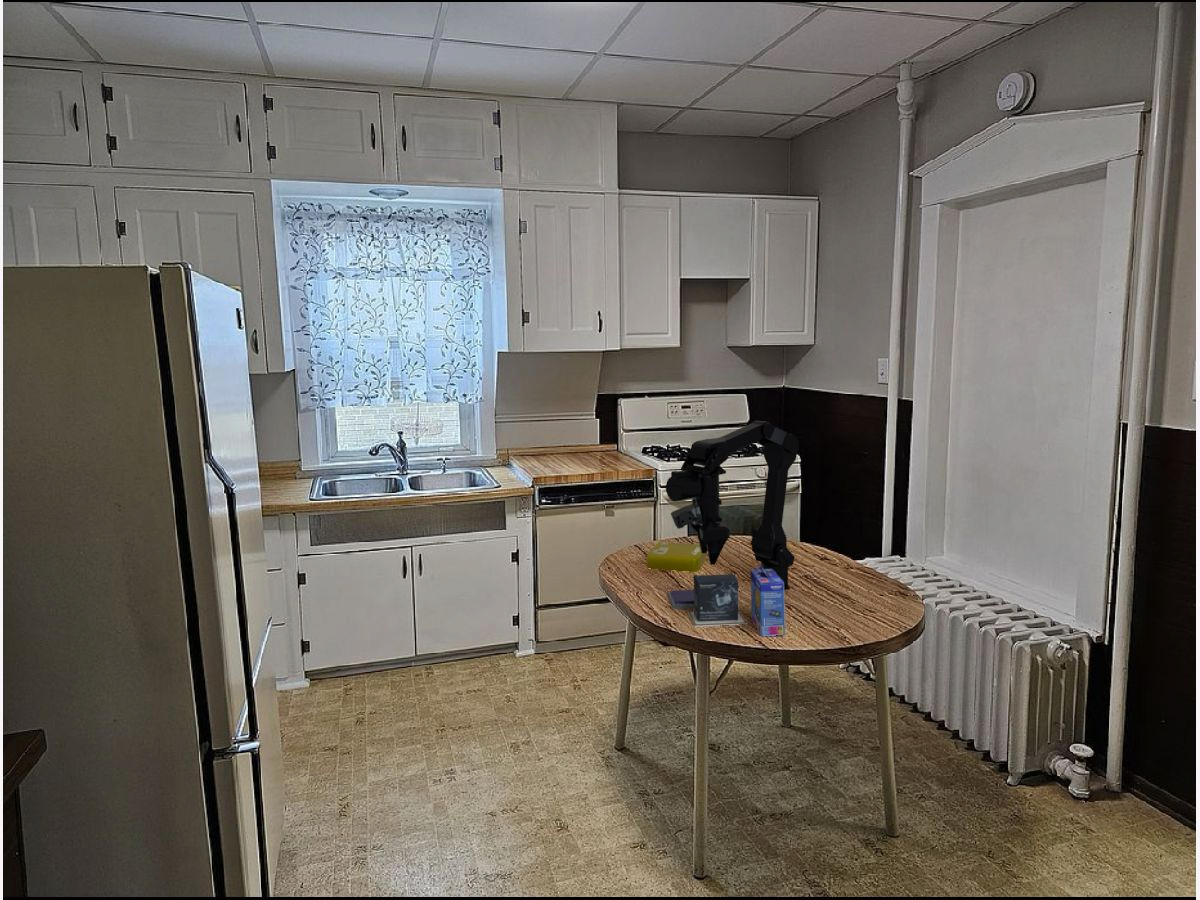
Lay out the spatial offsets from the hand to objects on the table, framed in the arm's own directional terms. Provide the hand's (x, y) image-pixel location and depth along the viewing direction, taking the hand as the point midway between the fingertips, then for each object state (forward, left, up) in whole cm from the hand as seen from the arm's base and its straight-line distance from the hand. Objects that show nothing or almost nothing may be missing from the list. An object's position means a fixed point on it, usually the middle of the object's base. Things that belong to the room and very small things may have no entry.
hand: (708, 558), depth 180 cm
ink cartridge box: (-10, +16, -12) cm, 22 cm away
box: (0, +9, -12) cm, 14 cm away
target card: (0, +9, -12) cm, 15 cm away
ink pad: (+4, -3, -12) cm, 13 cm away
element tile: (+2, -35, -12) cm, 38 cm away
